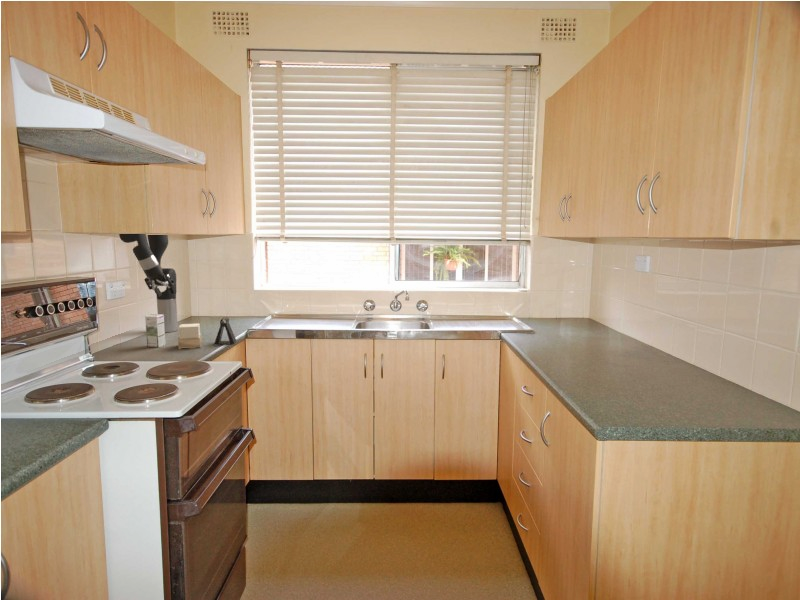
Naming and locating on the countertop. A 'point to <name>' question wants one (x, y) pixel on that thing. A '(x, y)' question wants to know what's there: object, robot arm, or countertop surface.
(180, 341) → the tower base block
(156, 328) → the syrup box
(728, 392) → the countertop surface
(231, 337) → the dark grey triangular frame
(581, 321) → the countertop surface
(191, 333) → the tower top block
